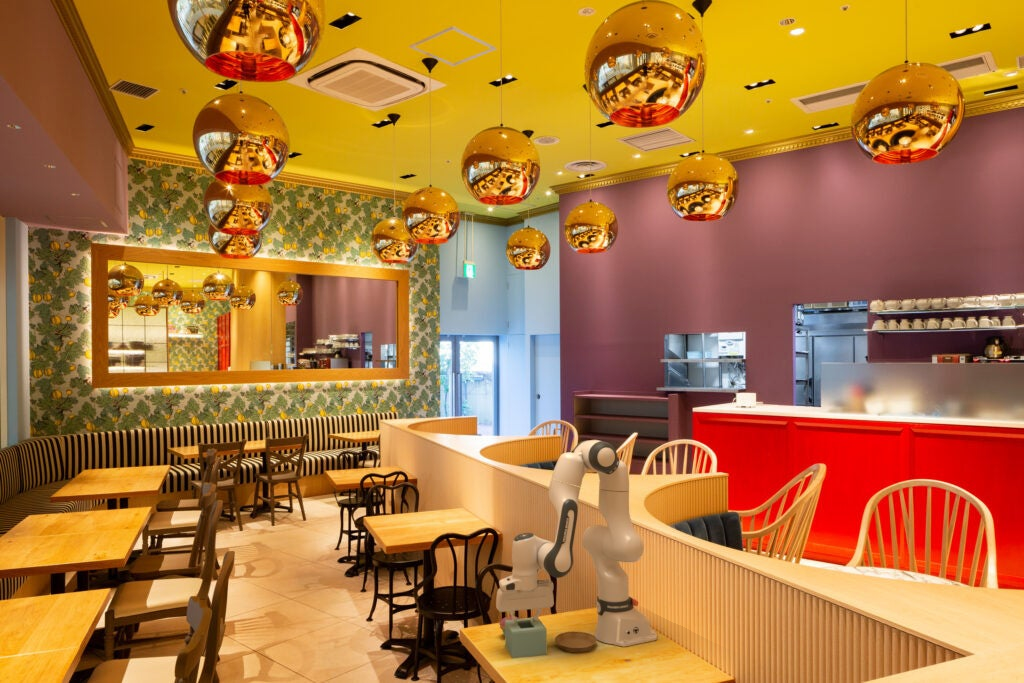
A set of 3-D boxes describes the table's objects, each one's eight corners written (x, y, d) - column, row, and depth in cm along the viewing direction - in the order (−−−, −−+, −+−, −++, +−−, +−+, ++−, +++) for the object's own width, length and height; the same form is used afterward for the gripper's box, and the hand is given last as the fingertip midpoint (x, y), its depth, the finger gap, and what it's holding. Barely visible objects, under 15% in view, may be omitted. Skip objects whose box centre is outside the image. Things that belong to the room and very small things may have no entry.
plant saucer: (591, 657, 226) (591, 649, 226) (549, 652, 231) (549, 644, 231) (601, 641, 240) (600, 633, 240) (561, 636, 245) (561, 629, 245)
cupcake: (495, 639, 243) (495, 605, 244) (506, 631, 250) (506, 598, 251) (516, 643, 239) (516, 608, 240) (527, 635, 246) (526, 601, 247)
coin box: (538, 642, 239) (537, 617, 240) (546, 654, 229) (546, 628, 229) (505, 645, 237) (505, 620, 237) (512, 658, 226) (512, 631, 226)
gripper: (550, 576, 239) (551, 616, 239) (494, 581, 235) (495, 621, 234) (555, 581, 233) (556, 622, 232) (498, 586, 229) (499, 627, 228)
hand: (525, 621), depth 233 cm, fingers open, 6 cm apart
